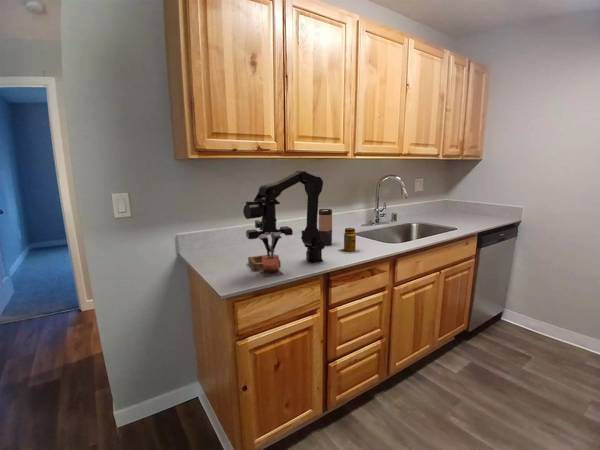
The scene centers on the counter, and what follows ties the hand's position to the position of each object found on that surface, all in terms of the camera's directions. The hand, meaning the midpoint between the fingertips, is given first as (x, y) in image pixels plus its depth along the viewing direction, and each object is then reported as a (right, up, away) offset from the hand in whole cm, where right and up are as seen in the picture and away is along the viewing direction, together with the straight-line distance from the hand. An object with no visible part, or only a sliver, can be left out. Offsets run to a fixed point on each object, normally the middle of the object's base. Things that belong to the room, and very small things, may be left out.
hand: (270, 252), depth 131 cm
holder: (-4, -7, +12) cm, 14 cm away
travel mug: (+27, 0, +47) cm, 54 cm away
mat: (0, -9, +2) cm, 9 cm away
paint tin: (0, -8, +1) cm, 8 cm away
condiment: (+38, -2, +33) cm, 50 cm away
